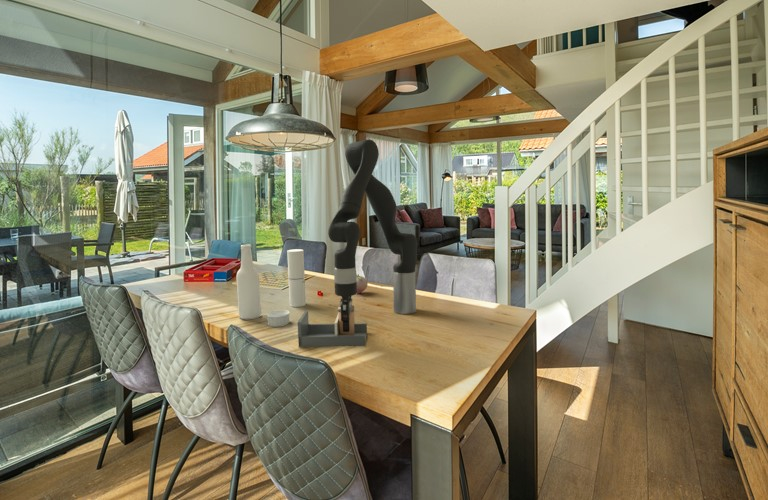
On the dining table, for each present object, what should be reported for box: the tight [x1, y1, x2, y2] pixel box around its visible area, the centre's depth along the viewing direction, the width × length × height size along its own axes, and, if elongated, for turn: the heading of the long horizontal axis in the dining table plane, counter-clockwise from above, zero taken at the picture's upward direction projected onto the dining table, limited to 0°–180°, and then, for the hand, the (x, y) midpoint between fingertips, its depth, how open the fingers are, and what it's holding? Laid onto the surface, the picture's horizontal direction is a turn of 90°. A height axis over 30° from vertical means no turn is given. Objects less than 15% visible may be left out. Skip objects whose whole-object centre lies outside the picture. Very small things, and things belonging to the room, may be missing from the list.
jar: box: [337, 304, 355, 335], centre depth 137 cm, size 6×6×11 cm
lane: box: [297, 310, 368, 348], centre depth 137 cm, size 22×13×8 cm, turn 90°
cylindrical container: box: [286, 248, 307, 308], centre depth 179 cm, size 7×7×25 cm
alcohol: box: [236, 243, 262, 321], centre depth 162 cm, size 9×9×30 cm
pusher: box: [334, 314, 339, 335], centre depth 137 cm, size 1×10×7 cm, turn 0°
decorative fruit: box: [356, 274, 369, 294], centre depth 199 cm, size 9×8×10 cm
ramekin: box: [265, 309, 291, 328], centre depth 155 cm, size 9×9×4 cm
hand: (346, 328), depth 137 cm, fingers closed on jar, 5 cm apart
